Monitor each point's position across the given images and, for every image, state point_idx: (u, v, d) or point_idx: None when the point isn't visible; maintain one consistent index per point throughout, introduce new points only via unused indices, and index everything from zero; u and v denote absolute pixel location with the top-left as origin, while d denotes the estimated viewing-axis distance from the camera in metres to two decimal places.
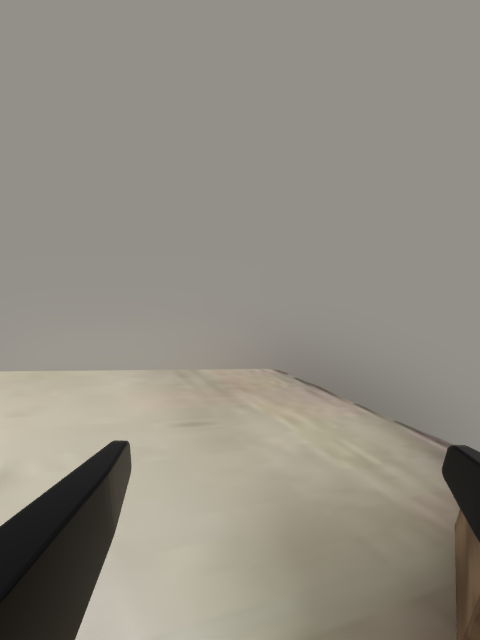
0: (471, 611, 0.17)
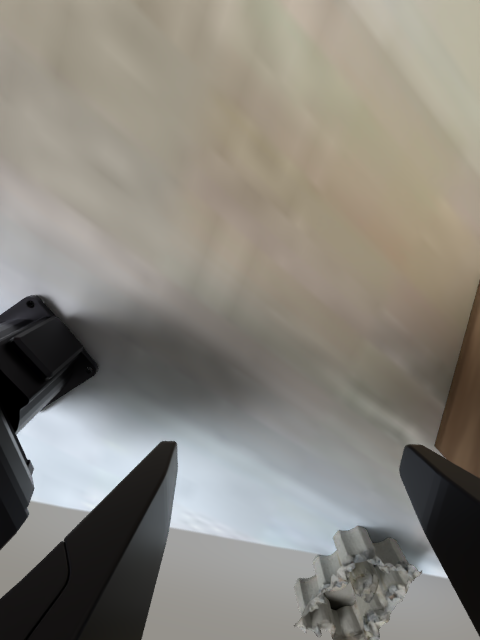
0: None
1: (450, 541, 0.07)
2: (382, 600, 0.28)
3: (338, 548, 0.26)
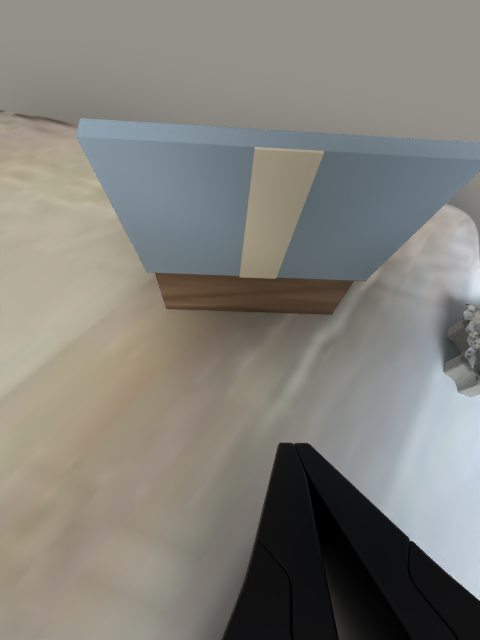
0: None
1: None
2: None
3: (478, 392, 0.23)
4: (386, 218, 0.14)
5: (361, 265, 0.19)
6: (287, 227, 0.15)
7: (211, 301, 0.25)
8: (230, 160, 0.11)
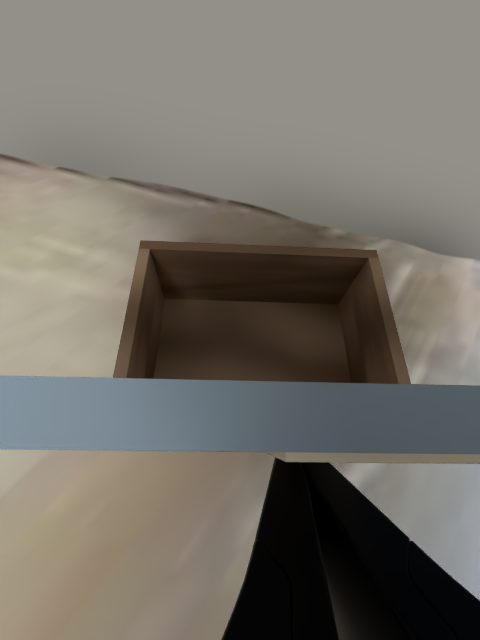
0: None
1: None
2: None
3: None
4: None
5: None
6: None
7: None
8: None
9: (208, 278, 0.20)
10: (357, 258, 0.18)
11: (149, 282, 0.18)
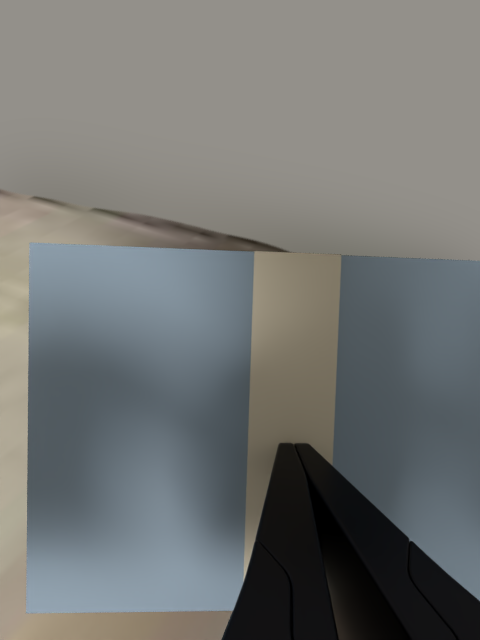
0: None
1: None
2: None
3: None
4: (472, 383, 0.09)
5: None
6: (320, 416, 0.09)
7: None
8: (224, 273, 0.09)
9: None
10: None
11: None
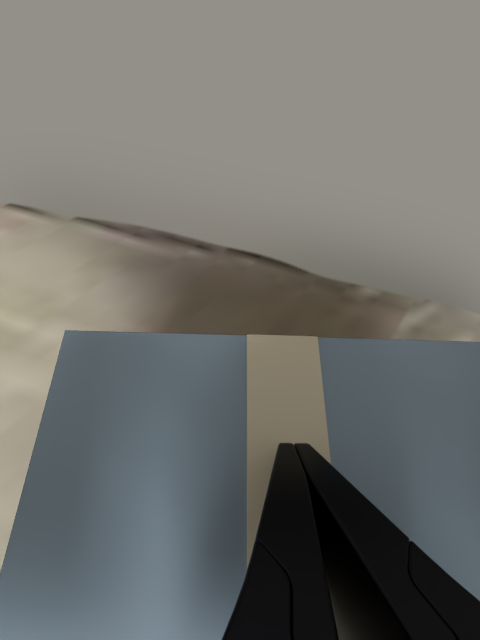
0: None
1: None
2: None
3: None
4: (460, 450, 0.09)
5: None
6: None
7: None
8: (222, 352, 0.10)
9: None
10: None
11: None
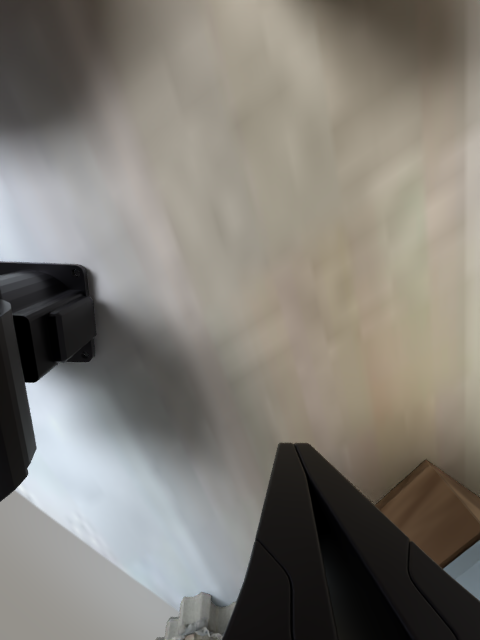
0: (458, 495, 0.22)
1: None
2: None
3: (179, 615, 0.28)
4: None
5: None
6: None
7: (401, 504, 0.25)
8: None
9: None
10: None
11: None
